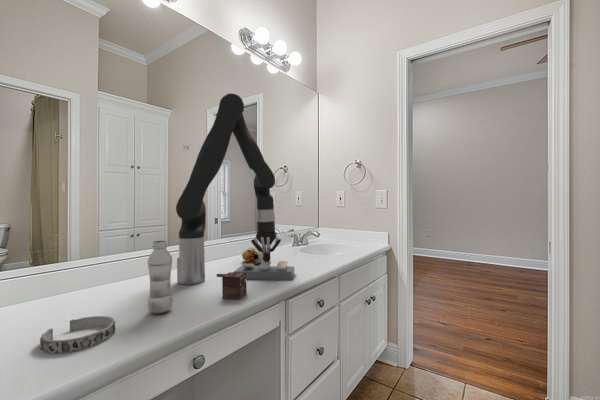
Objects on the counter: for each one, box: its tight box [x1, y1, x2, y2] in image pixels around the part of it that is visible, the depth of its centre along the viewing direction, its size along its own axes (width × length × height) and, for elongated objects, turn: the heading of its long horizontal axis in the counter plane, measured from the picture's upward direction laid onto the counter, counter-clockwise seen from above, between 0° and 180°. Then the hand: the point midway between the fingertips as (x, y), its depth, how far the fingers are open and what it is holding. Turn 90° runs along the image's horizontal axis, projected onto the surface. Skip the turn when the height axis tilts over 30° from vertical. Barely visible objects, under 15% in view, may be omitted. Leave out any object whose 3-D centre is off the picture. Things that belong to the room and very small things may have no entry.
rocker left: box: [241, 262, 255, 268], centre depth 118 cm, size 4×6×2 cm, turn 175°
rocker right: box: [276, 260, 288, 270], centre depth 117 cm, size 4×6×2 cm, turn 175°
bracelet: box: [39, 315, 116, 355], centre depth 67 cm, size 14×14×3 cm
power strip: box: [215, 265, 295, 281], centre depth 118 cm, size 32×9×3 cm, turn 85°
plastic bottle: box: [147, 240, 174, 315], centre depth 82 cm, size 6×7×20 cm
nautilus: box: [240, 246, 267, 265], centre depth 142 cm, size 8×22×15 cm
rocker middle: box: [258, 260, 272, 270], centre depth 118 cm, size 4×6×2 cm, turn 175°
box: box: [221, 271, 248, 300], centre depth 94 cm, size 6×6×7 cm
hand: (266, 261), depth 120 cm, fingers closed
